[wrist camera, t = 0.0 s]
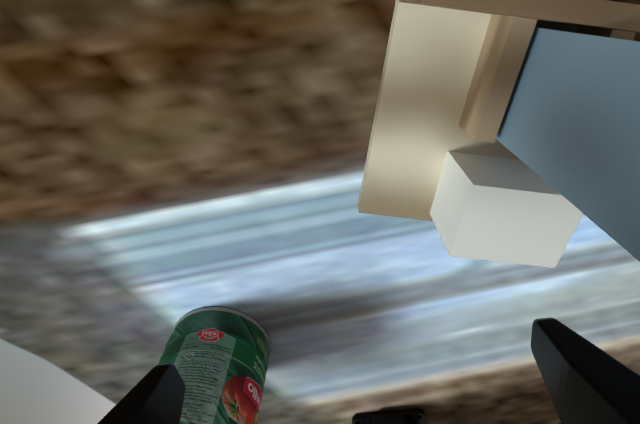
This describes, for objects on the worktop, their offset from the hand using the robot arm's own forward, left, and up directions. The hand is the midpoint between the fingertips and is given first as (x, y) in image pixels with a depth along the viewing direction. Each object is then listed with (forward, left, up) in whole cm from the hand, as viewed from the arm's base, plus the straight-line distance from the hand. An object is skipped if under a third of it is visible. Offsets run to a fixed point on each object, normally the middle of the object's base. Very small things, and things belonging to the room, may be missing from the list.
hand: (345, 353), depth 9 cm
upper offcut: (-4, -8, -12) cm, 14 cm away
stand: (0, -7, -15) cm, 16 cm away
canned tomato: (-14, +12, -15) cm, 24 cm away
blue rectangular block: (+2, -10, -14) cm, 17 cm away
